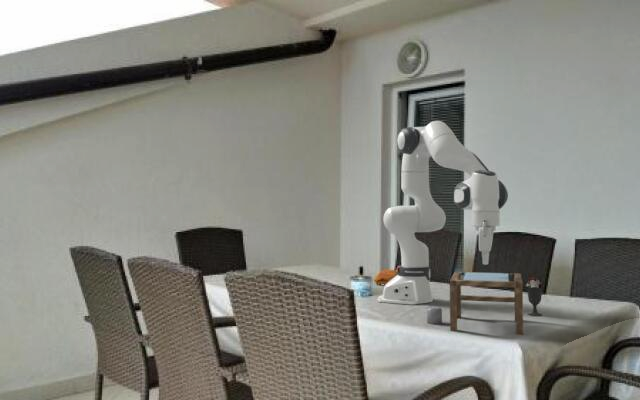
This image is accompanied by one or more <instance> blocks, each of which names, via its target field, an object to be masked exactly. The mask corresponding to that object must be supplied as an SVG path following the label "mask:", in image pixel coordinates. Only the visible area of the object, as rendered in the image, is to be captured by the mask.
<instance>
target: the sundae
mask: <svg viewBox="0 0 640 400" xmlns="http://www.w3.org/2000/svg"><path fill="white" fill-rule="evenodd" d="M527 275H528V276H529V278H528V282H527V283H526V285H524V287H525V289H526V291H527V298H528V302H529V303H530V304H531V305H532V310H531V312H528V313H527V315H528V316H531V317H542V316H543V313H539V312H538V308H537V306H538V305H539V304H540V303H541V301H542V293H543V290H544V289H545V286H544V285H543V284H544V281H542V282H540V280H538V279H537V278H535V277H533V275H532V274H531V273H530V272H527Z"/></svg>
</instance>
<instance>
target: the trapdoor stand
mask: <svg viewBox="0 0 640 400" xmlns="http://www.w3.org/2000/svg"><path fill="white" fill-rule="evenodd" d="M462 276H465V272H462V271H454V272H453V274H452V276H451V277H450V280H449V318H450V319H449V322H450V324H449V327H450V329H449V330H450V331H451V332H453V331H455V332H457V331H458V319H461V318H462V301H463V302H464V301H468V302H491V303H492V302H493V303H494V302H495V303H496V302H497V303H514V321H515V334H516V335H524V317H523V316H524V309H523V308H524V303H523V302H524V301H523V300H524V298H523V297H524V296H523V293H524V291H523V290H524V289H523V285H524V284H523V283H524V282H523V279H522V274H521V273H517V272H514V273H509V277H514V278H513V281H510V280H509V281H478V280H463V279H462ZM463 286H464V287H467V286H468V287H488V288H491V287H494V288H495V287H496V288H497V287H498V288H514V295H513V296H496V295H495V296H493V295H492V296H491V295H466V294H465V295H464V294H462V287H463Z"/></svg>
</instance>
